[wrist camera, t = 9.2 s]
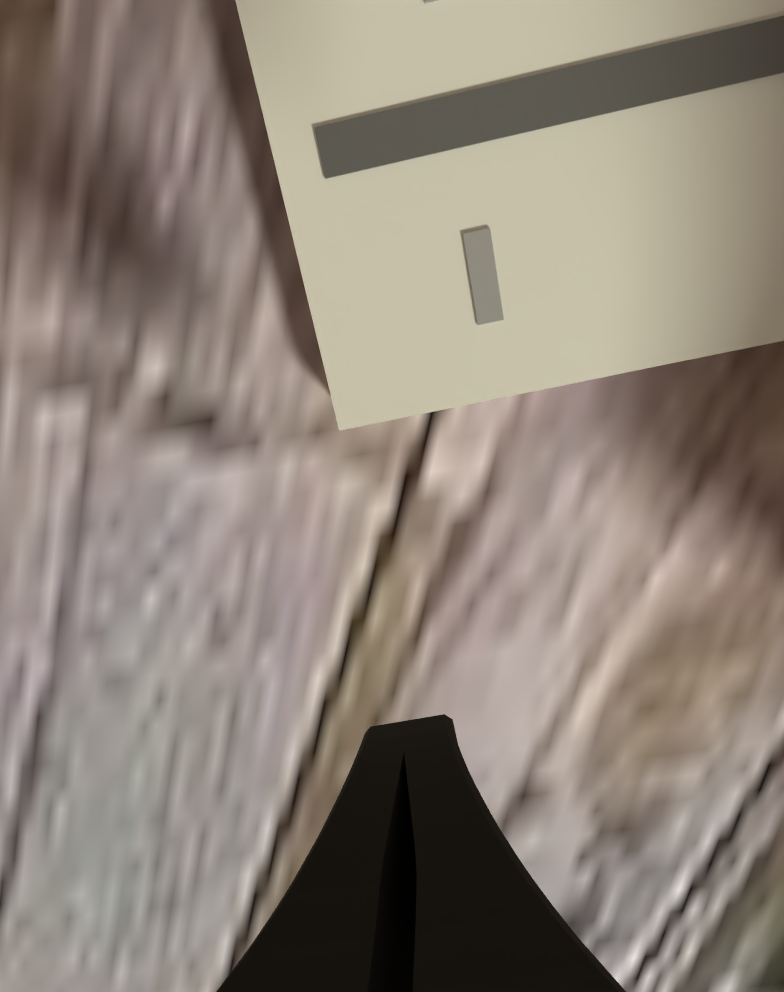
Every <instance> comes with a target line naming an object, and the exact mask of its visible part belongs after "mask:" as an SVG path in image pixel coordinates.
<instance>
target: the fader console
mask: <svg viewBox="0 0 784 992" xmlns="http://www.w3.org/2000/svg"><path fill="white" fill-rule="evenodd" d="M235 1H236V5H237V9H238V13H239V18H240V22H241V26H242V30H243V34H244V38H245V42H246V47H247V51H248V55H249V59H250V63H251V67H252V71H253V75H254V80H255V84H256V88H257V92H258V96H259V100H260V104H261V109H262V113H263V117H264V121H265V125H266V129H267V133H268V138H269V142H270V146H271V150H272V154H273V158H274V162H275V166H276V171H277V175H278V179H279V183H280V187H281V191H282V195H283V200H284V204H285V208H286V212H287V216H288V220H289V224H290V229H291V233H292V237H293V241H294V245H295V249H296V253H297V257H298V262H299V266H300V270H301V274H302V278H303V282H304V286H305V291H306V295H307V299H308V303H309V307H310V311H311V315H312V320H313V324H314V328H315V332H316V336H317V340H318V344H319V348H320V353H321V357H322V361H323V365H324V369H325V373H326V377H327V382H328V386H329V390H330V394H331V398H332V402H333V406H334V411H335V415H336V419H337V423H338V427H339V430H344V429H349V428H354V427H359V426H364V425H369V424H374V423H379V422H384V421H389V420H394V419H399V418H404V417H409V416H414V415H419V414H423V413H428V412H433V411H438V410H443V409H448V408H453V407H458V406H463V405H468V404H473V403H478V402H483V401H488V400H493V399H498V398H503V397H508V396H513V395H518V394H522V393H527V392H532V391H537V390H542V389H547V388H552V387H557V386H562V385H567V384H572V383H577V382H582V381H587V380H592V379H597V378H602V377H607V376H612V375H617V374H621V373H626V372H631V371H636V370H641V369H646V368H651V367H656V366H661V365H666V364H671V363H676V362H681V361H686V360H691V359H696V358H701V357H706V356H711V355H716V354H720V353H725V352H730V351H735V350H740V349H745V348H750V347H755V346H760V345H765V344H770V343H775V342H780V341H784V0H235Z"/></svg>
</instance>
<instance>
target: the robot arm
mask: <svg viewBox="0 0 784 992" xmlns="http://www.w3.org/2000/svg"><path fill="white" fill-rule="evenodd" d="M217 992H626V991H625V990H624V989H623V988H622V987H621V986H620V984H619V983H618V982H617V981H616V980H615V979H614V978H613V977H612V975H611V974H610V973H609V972H608V971H607V970H606V969H605V968H604V966H603V965H602V964H601V963H600V962H599V961H598V960H597V959H596V957H595V956H594V955H593V954H592V953H591V952H590V951H589V949H588V948H587V947H586V946H585V945H584V944H583V943H582V942H581V940H580V939H579V938H578V937H577V936H576V934H575V933H574V932H573V931H572V930H571V928H570V927H569V926H568V924H567V923H566V922H565V921H564V919H563V918H562V917H561V916H560V914H559V913H558V912H557V911H556V909H555V908H554V907H553V906H552V904H551V903H550V902H549V900H548V899H547V898H546V896H545V895H544V893H543V892H542V891H541V889H540V888H539V887H538V885H537V884H536V883H535V881H534V880H533V879H532V877H531V876H530V874H529V873H528V871H527V870H526V869H525V867H524V866H523V864H522V863H521V861H520V860H519V858H518V857H517V855H516V854H515V852H514V851H513V849H512V847H511V846H510V844H509V843H508V841H507V840H506V838H505V836H504V835H503V833H502V832H501V830H500V828H499V827H498V825H497V823H496V822H495V820H494V818H493V817H492V815H491V813H490V811H489V809H488V808H487V806H486V804H485V802H484V800H483V798H482V796H481V795H480V793H479V791H478V789H477V787H476V785H475V783H474V781H473V779H472V777H471V775H470V773H469V771H468V768H467V766H466V764H465V761H464V759H463V757H462V754H461V752H460V749H459V746H458V743H457V738H456V733H455V729H454V724H453V720H452V719H451V718H449V717H448V716H446V715H445V714H444V715H438V716H432V717H426V718H420V719H414V720H408V721H402V722H396V723H390V724H384V725H378V726H372V727H370V728H369V729H368V730H367V732H366V733H365V735H364V738H363V740H362V743H361V746H360V748H359V751H358V753H357V756H356V758H355V760H354V763H353V765H352V767H351V770H350V772H349V774H348V777H347V779H346V781H345V783H344V785H343V788H342V790H341V792H340V794H339V796H338V798H337V800H336V802H335V804H334V806H333V808H332V810H331V812H330V814H329V816H328V818H327V820H326V822H325V824H324V826H323V828H322V830H321V832H320V834H319V836H318V838H317V840H316V842H315V843H314V845H313V847H312V849H311V850H310V852H309V854H308V856H307V857H306V859H305V861H304V863H303V864H302V866H301V868H300V870H299V871H298V873H297V875H296V877H295V879H294V880H293V882H292V884H291V885H290V887H289V889H288V890H287V892H286V893H285V895H284V897H283V898H282V900H281V901H280V903H279V905H278V906H277V908H276V909H275V911H274V912H273V914H272V915H271V917H270V918H269V920H268V921H267V923H266V924H265V926H264V927H263V929H262V930H261V932H260V933H259V935H258V936H257V937H256V939H255V940H254V942H253V943H252V945H251V946H250V947H249V949H248V950H247V952H246V953H245V954H244V956H243V957H242V958H241V960H240V961H239V962H238V964H237V965H236V966H235V968H234V969H233V970H232V972H231V973H230V974H229V976H228V977H227V978H226V980H225V981H224V982H223V984H222V985H221V986H220V988H219V989H218V990H217Z"/></svg>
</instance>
